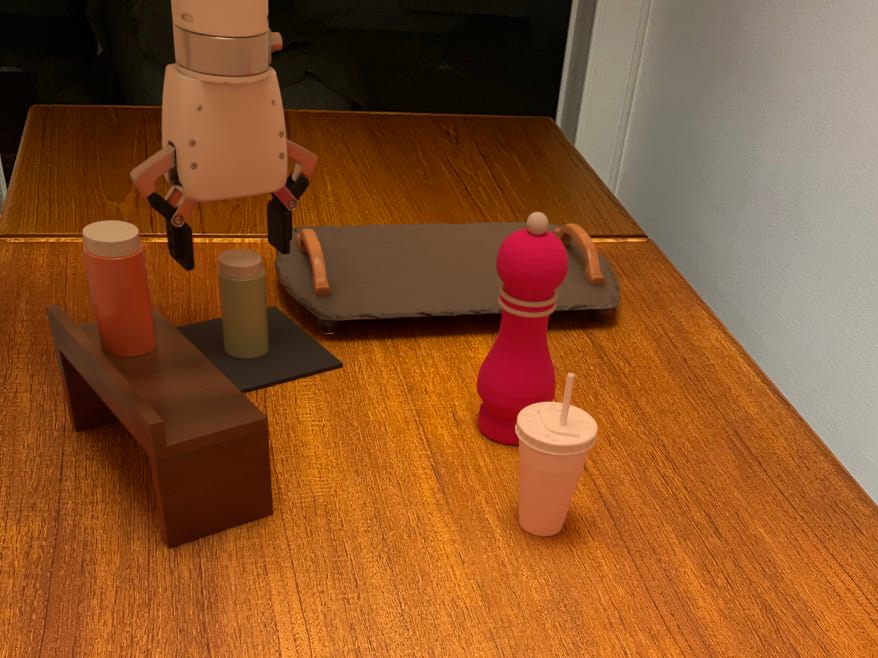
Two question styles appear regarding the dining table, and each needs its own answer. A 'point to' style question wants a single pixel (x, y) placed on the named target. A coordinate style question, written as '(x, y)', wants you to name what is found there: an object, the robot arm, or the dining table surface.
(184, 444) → the spice shelf
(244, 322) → the green shaker
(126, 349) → the terracotta shaker
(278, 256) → the serving tray
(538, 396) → the pepper mill
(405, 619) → the dining table surface
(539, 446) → the smoothie
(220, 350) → the mat
